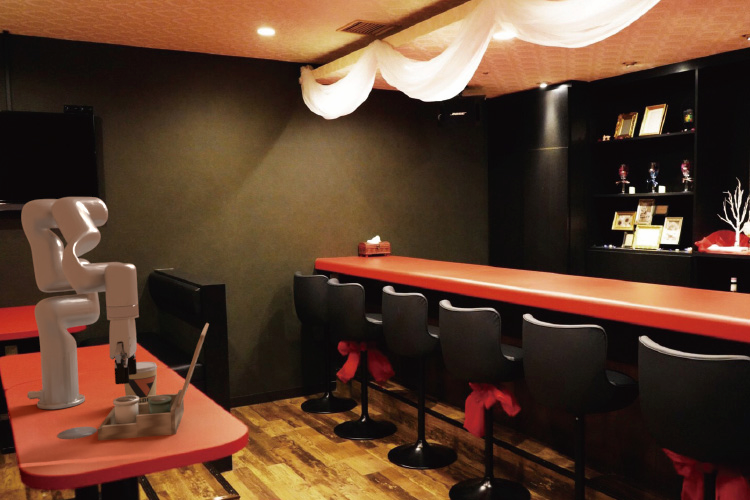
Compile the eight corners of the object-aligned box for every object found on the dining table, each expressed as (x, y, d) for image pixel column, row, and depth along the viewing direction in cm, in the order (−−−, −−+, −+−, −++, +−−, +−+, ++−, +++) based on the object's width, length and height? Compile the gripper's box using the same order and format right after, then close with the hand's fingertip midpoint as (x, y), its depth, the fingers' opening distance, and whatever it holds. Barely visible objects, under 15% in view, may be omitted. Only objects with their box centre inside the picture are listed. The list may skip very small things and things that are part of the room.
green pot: (146, 427, 161) (146, 402, 160) (150, 419, 166) (150, 396, 166) (170, 425, 162) (169, 401, 161) (173, 418, 167) (172, 394, 167)
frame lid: (200, 335, 155) (203, 335, 155) (206, 322, 173) (209, 323, 173) (175, 408, 155) (179, 409, 155) (184, 388, 173) (187, 389, 173)
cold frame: (98, 443, 152) (96, 414, 152) (114, 419, 170) (113, 394, 169) (175, 437, 155) (174, 409, 155) (184, 414, 173) (183, 389, 173)
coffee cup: (125, 413, 175) (124, 370, 174) (122, 404, 183) (120, 363, 183) (161, 408, 179) (159, 366, 179) (156, 399, 188) (154, 359, 187)
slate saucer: (52, 443, 152) (52, 440, 152) (63, 431, 161) (63, 428, 161) (92, 440, 154) (91, 437, 154) (100, 428, 163) (100, 425, 163)
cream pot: (111, 431, 158) (110, 403, 158) (117, 423, 164) (116, 396, 164) (137, 429, 159) (136, 401, 159) (142, 421, 165) (141, 394, 165)
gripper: (114, 308, 168) (118, 372, 168) (98, 318, 151) (102, 388, 151) (144, 307, 169) (147, 370, 170) (131, 316, 152) (135, 386, 153)
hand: (126, 379), depth 161 cm, fingers open, 9 cm apart
